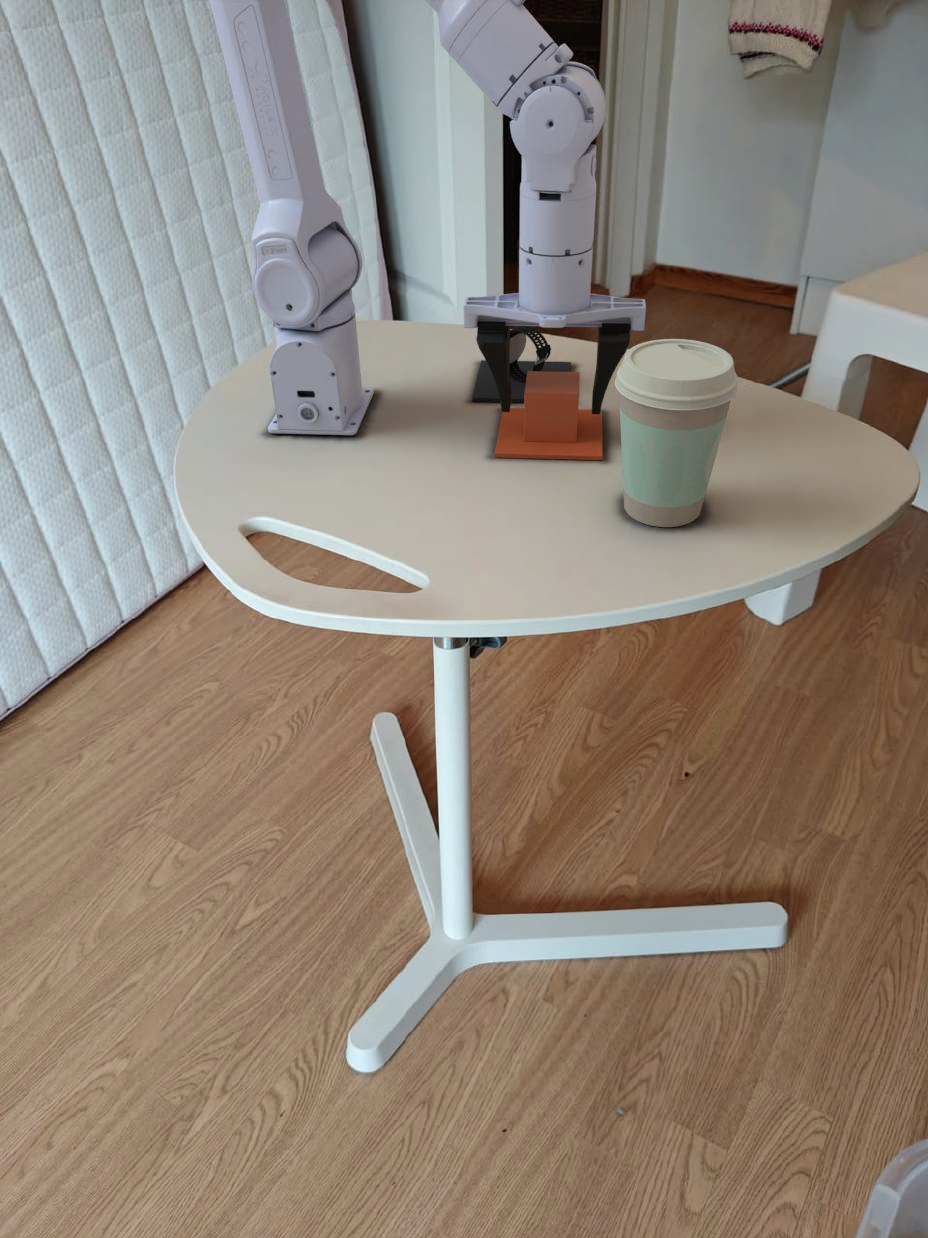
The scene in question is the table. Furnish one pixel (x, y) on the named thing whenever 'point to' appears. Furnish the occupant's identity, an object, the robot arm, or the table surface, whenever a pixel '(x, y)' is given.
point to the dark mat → (487, 385)
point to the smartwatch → (518, 347)
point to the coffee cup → (671, 426)
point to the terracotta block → (551, 406)
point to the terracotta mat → (583, 449)
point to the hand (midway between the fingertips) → (550, 408)
